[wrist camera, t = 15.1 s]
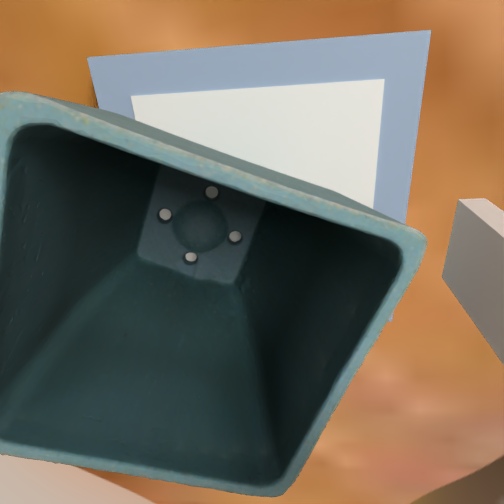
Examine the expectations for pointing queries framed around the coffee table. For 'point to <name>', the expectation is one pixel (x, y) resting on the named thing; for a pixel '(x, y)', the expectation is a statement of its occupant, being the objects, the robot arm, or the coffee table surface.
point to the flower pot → (177, 301)
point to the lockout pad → (287, 108)
